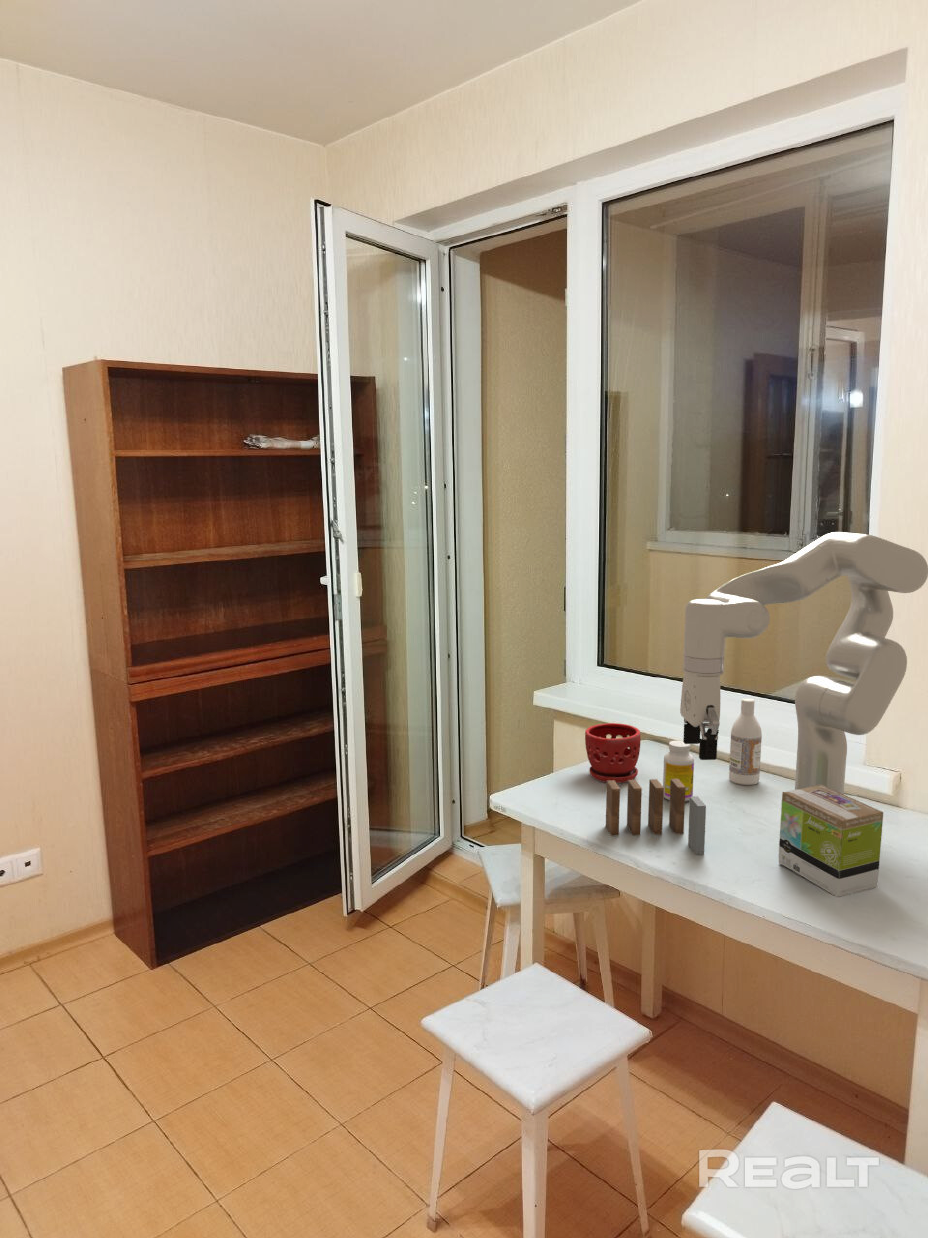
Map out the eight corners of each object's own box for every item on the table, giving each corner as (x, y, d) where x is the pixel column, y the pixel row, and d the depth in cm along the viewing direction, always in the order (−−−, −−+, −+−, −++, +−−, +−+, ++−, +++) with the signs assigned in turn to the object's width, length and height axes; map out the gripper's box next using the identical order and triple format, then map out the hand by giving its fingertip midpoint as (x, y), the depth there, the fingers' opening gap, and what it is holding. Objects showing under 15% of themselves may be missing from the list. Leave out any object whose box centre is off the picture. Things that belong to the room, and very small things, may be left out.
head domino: (696, 844, 179) (697, 796, 177) (704, 854, 174) (706, 805, 172) (688, 844, 179) (689, 796, 177) (695, 855, 174) (697, 806, 172)
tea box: (775, 864, 170) (780, 790, 167) (816, 855, 174) (821, 782, 171) (837, 899, 156) (842, 818, 153) (879, 888, 160) (885, 809, 157)
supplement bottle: (695, 803, 200) (697, 748, 198) (665, 803, 200) (667, 748, 198) (688, 792, 207) (691, 739, 204) (660, 792, 207) (661, 739, 205)
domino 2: (634, 825, 188) (635, 779, 187) (640, 835, 183) (641, 788, 182) (626, 825, 188) (628, 780, 186) (632, 835, 183) (633, 788, 182)
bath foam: (750, 788, 209) (754, 705, 206) (723, 780, 214) (727, 699, 211) (764, 780, 214) (768, 699, 211) (738, 773, 219) (741, 694, 216)
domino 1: (613, 825, 188) (614, 780, 186) (618, 835, 183) (620, 789, 181) (605, 826, 188) (606, 780, 186) (611, 835, 183) (612, 789, 181)
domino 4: (676, 824, 189) (678, 778, 187) (683, 833, 184) (685, 787, 182) (669, 824, 189) (670, 778, 187) (676, 833, 184) (677, 787, 182)
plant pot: (606, 765, 226) (607, 719, 224) (650, 777, 217) (651, 729, 215) (573, 777, 217) (574, 729, 215) (617, 791, 208) (619, 741, 206)
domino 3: (655, 824, 188) (657, 779, 187) (662, 834, 184) (663, 787, 182) (648, 824, 188) (649, 779, 187) (654, 834, 183) (656, 788, 182)
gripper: (670, 655, 178) (667, 738, 181) (698, 675, 161) (694, 766, 164) (707, 655, 179) (704, 737, 182) (739, 674, 162) (734, 765, 165)
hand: (699, 751), depth 173 cm, fingers open, 9 cm apart
